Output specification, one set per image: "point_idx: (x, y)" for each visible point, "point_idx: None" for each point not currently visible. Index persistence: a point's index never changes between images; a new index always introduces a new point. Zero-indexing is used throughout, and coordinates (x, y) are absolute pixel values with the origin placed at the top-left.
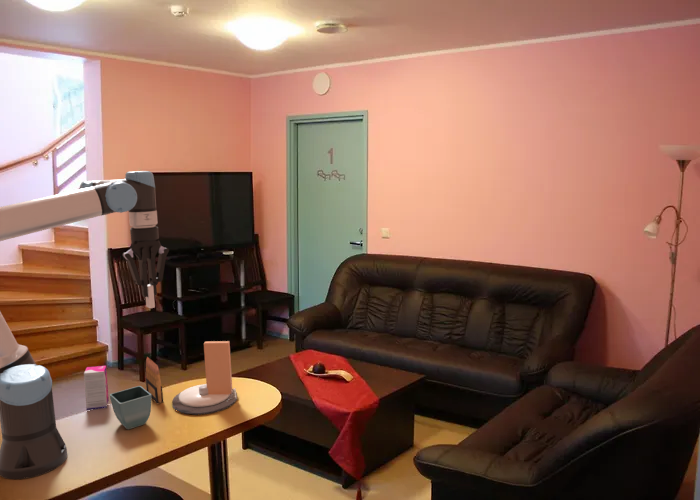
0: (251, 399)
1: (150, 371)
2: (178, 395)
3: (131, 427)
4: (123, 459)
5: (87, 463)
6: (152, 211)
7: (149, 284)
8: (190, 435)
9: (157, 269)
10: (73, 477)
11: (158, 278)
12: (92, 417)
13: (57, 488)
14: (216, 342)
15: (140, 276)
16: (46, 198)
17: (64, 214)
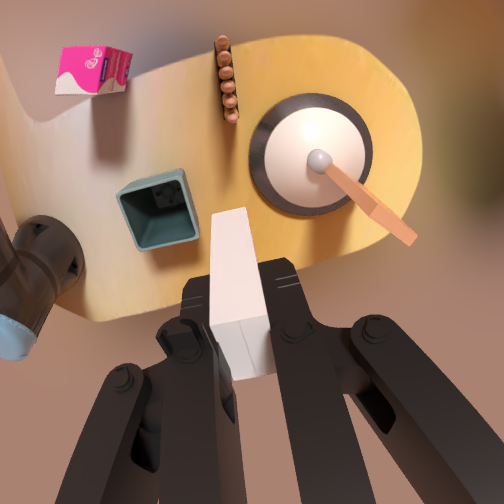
0: (378, 194)
1: (221, 75)
2: (271, 116)
3: (164, 210)
4: (154, 290)
5: (111, 280)
6: None
7: (261, 331)
8: None
9: (414, 445)
10: (102, 302)
11: (352, 399)
12: (100, 126)
13: (92, 314)
14: (393, 229)
15: (168, 435)
16: None
17: None
